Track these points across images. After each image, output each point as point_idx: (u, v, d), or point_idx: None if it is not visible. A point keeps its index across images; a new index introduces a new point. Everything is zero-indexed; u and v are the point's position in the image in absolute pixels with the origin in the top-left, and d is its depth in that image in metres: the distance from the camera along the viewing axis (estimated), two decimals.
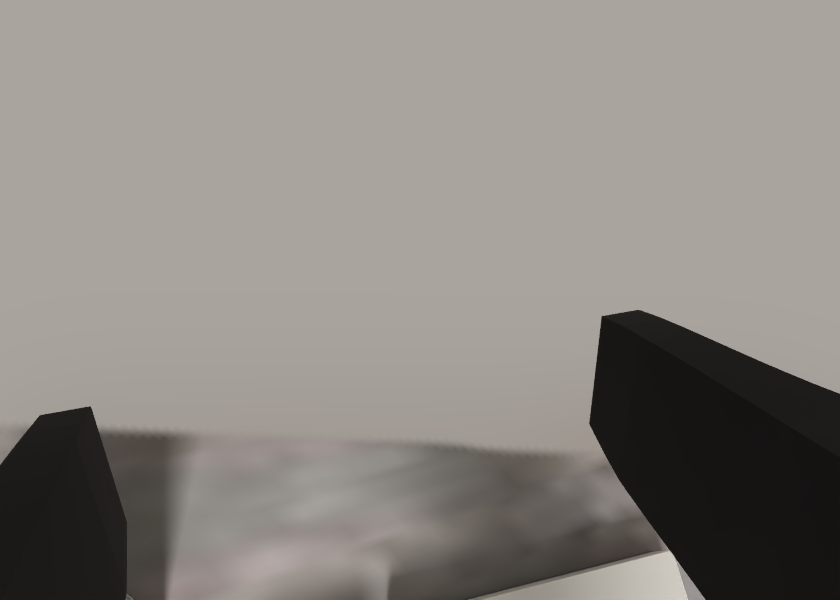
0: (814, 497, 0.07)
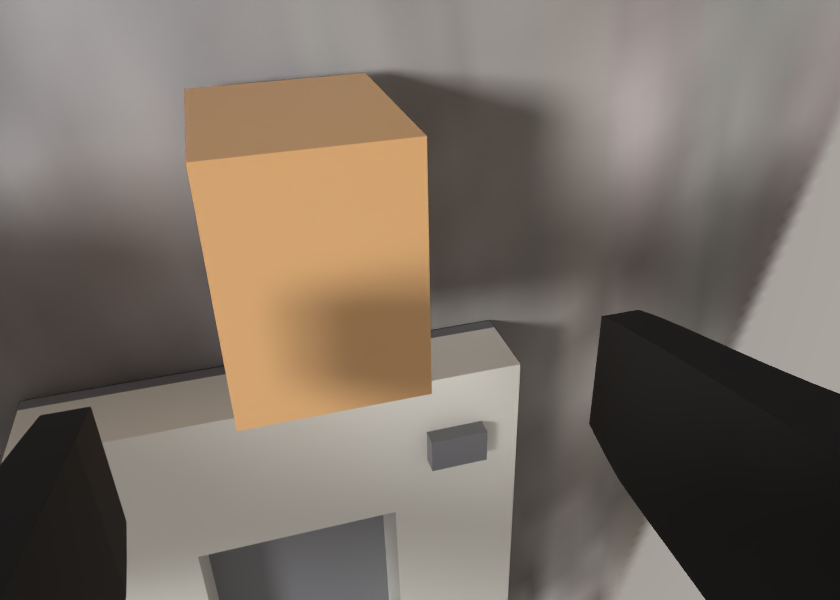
0: (814, 497, 0.07)
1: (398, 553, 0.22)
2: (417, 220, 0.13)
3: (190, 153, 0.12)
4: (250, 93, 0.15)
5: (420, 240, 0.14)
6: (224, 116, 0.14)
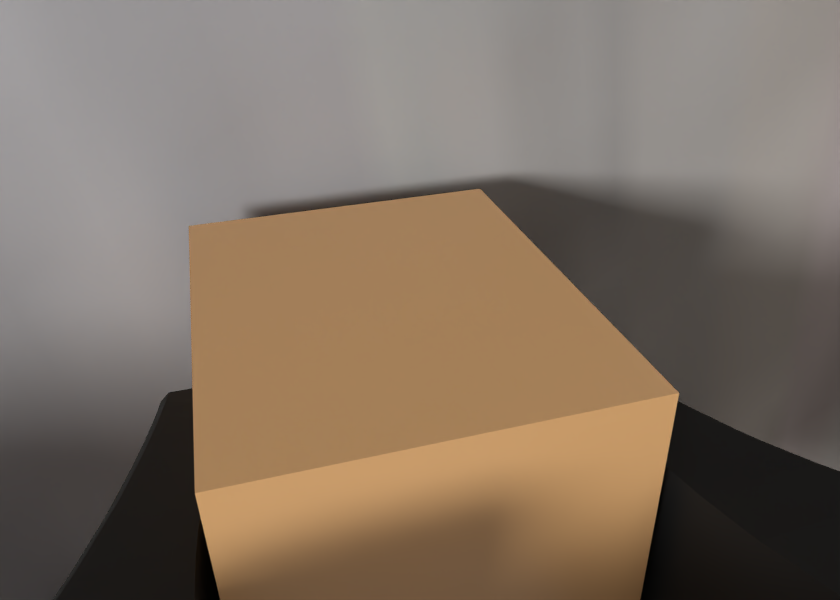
0: (678, 532, 0.07)
1: None
2: (635, 528, 0.07)
3: (204, 452, 0.06)
4: (301, 240, 0.09)
5: (634, 556, 0.07)
6: (263, 310, 0.08)
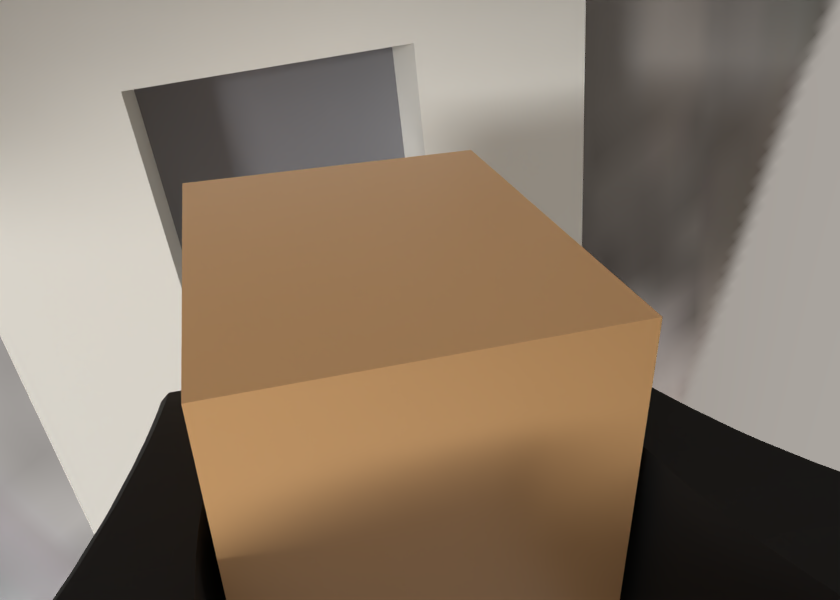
0: (678, 532, 0.07)
1: (423, 129, 0.15)
2: (622, 460, 0.07)
3: (191, 369, 0.06)
4: (293, 194, 0.09)
5: (622, 491, 0.07)
6: (254, 252, 0.08)
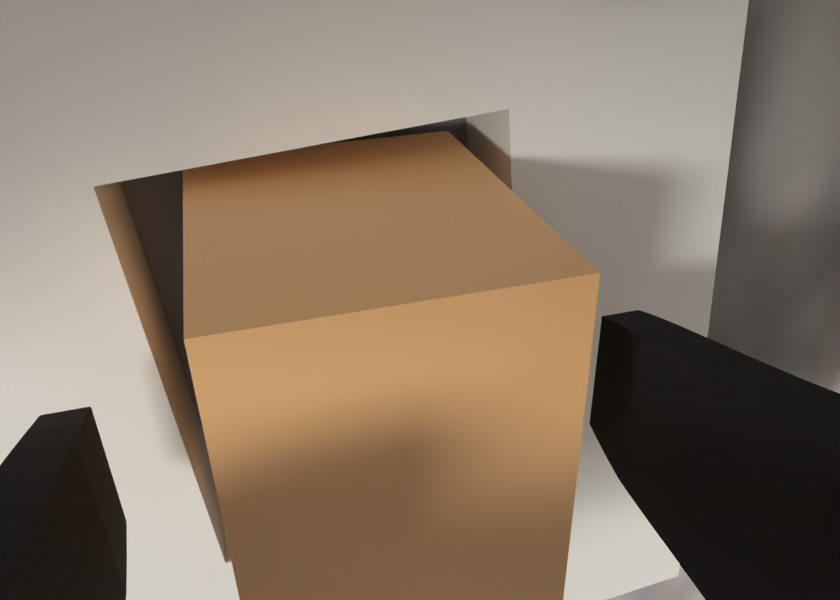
0: (814, 497, 0.07)
1: None
2: (568, 401, 0.08)
3: (192, 313, 0.07)
4: (283, 169, 0.10)
5: (569, 429, 0.08)
6: (246, 218, 0.09)
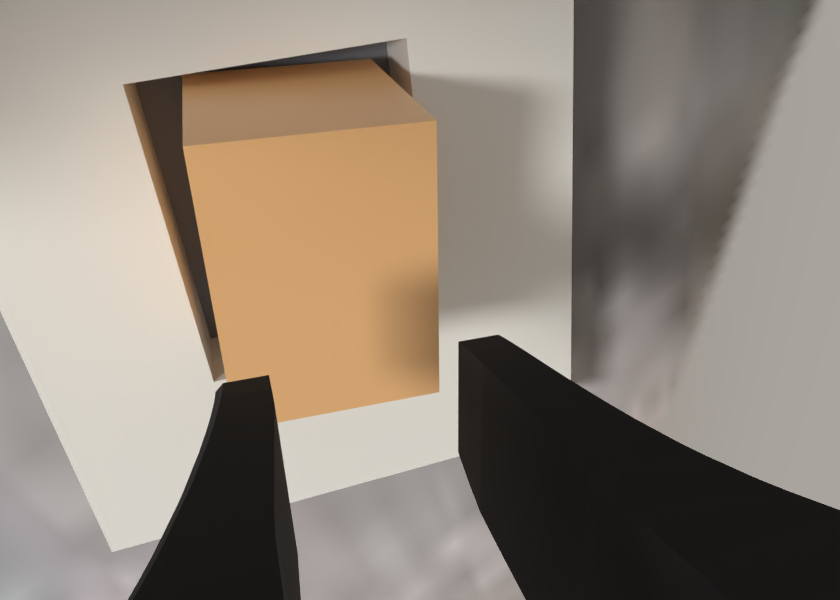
0: (615, 548, 0.07)
1: None
2: (426, 209, 0.13)
3: (187, 137, 0.12)
4: (251, 78, 0.15)
5: (429, 231, 0.13)
6: (223, 100, 0.13)
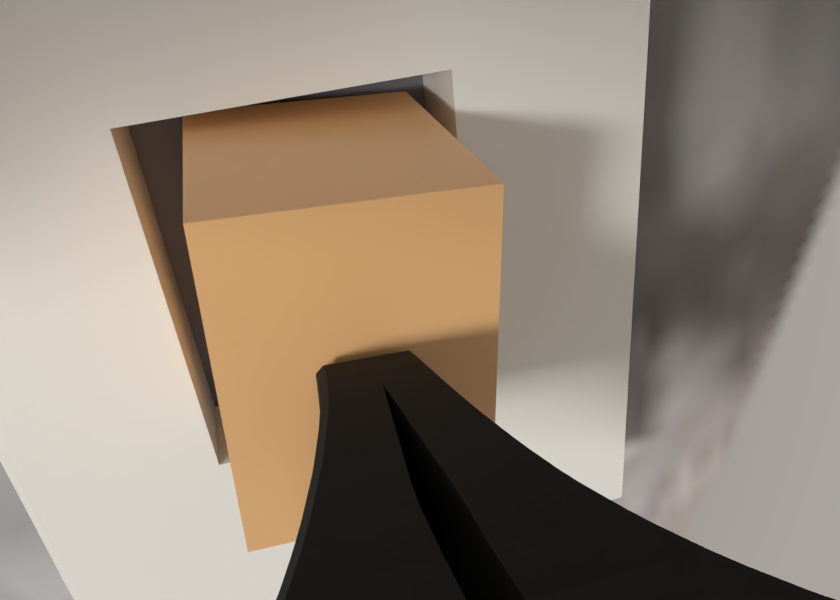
0: (482, 582, 0.07)
1: None
2: (486, 290, 0.10)
3: (189, 209, 0.09)
4: (265, 118, 0.12)
5: (488, 315, 0.10)
6: (233, 151, 0.11)
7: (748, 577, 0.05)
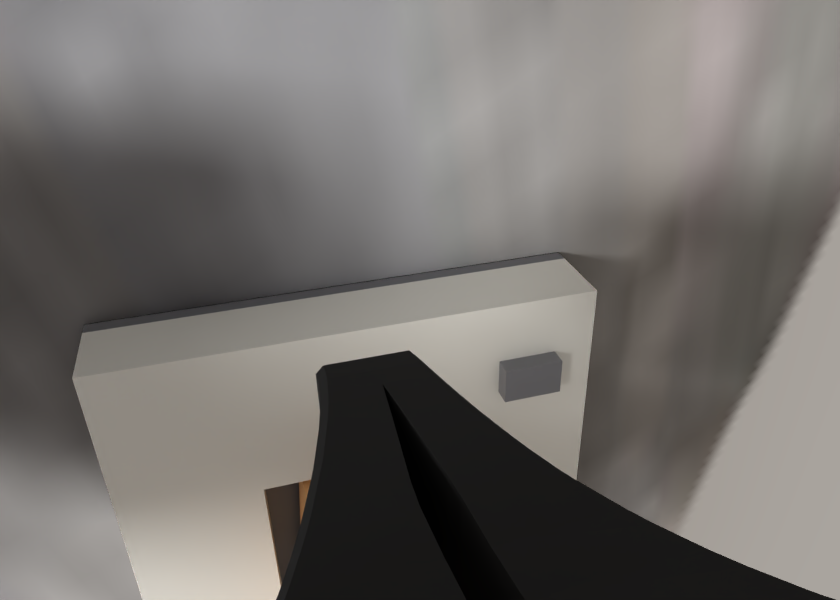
0: (482, 581, 0.07)
1: None
2: None
3: None
4: None
5: None
6: None
7: (748, 577, 0.05)
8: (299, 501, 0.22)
